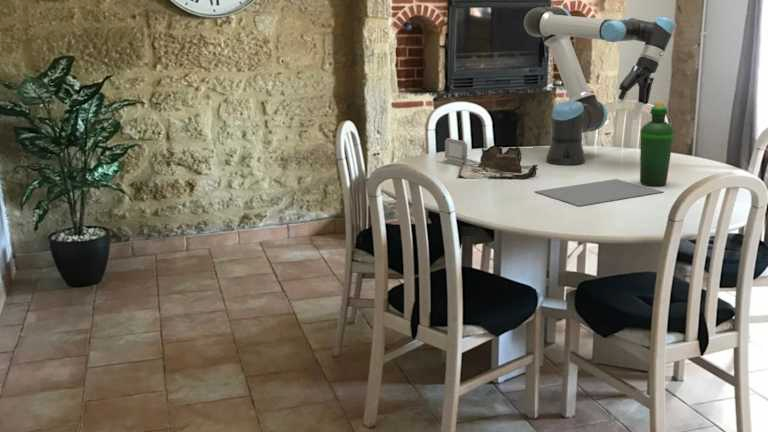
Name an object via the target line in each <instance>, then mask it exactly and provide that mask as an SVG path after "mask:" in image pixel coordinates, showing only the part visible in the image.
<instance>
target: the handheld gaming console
mask: <svg viewBox="0 0 768 432" xmlns="http://www.w3.org/2000/svg"><path fill="white" fill-rule="evenodd" d="M444 158H445V159H444V160H443V162H444V163H447V164H450V165H455V166H458V167H461V163H462V162H464V164H466V165H467V166H478V165H479V164H480V162H481V161H478V160H474V159H472V158H471V159H470V158H468V143H467V141H464V140H461V139H460V140H459V139H455V138H454V139H453V138H448V137H447V138H446V139H445V141H444Z"/></svg>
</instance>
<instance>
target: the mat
mask: <svg viewBox="0 0 768 432" xmlns="http://www.w3.org/2000/svg"><path fill="white" fill-rule="evenodd" d="M534 193H536V194H538V195H541V196H544V197H548V198H551V199H552V200H556V201H560V202H563V203H565V204H570V205H572V206H575V207H578V208H579V207H587V206H591V205H598V204H604V203H608V202H609V203H610V202H611V203H612V202H615V201H621V200H628V199H634V198H639V197H646V196H652V195H658V194H659V195H660V194H664V190H659V189H656V188H652V187H649V186H646V185H640V184H635V183H632V182H628V181H625V180H621V179H618V178H615V179H608V180H607V179H606V180H602V181H593V182H588V183H582V184H581V183H580V184H573V185H568V186H560V187H555V188H547V189H540V190H535V191H534Z"/></svg>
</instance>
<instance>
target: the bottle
mask: <svg viewBox="0 0 768 432" xmlns="http://www.w3.org/2000/svg"><path fill="white" fill-rule="evenodd" d="M653 104H654V106H652V107H651V109H650V113H649V114H650V115H651V121H649V122H647V123H646V124H644V125H643V126H642V128H641V129H640V157H639V159H640V160H639V161H640V163H639V165H640V167H639V169H640V171H639V180H640V181H639V182H640V183H641V184H642V185H643V186H646V187H662V186H664V185H666V184H667V181H668V174H669V169H670V167H669V166H670V161H671V160H670V159H671V153H672V150H673V149H672V148H673V141H674V140H673V139H674V134H675V130H674V128H673V126H672V125H671V124H669V123H668V122H667V121H665V119H666V116H667V115H668V109H667V106H665V102H654V103H653Z"/></svg>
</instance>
